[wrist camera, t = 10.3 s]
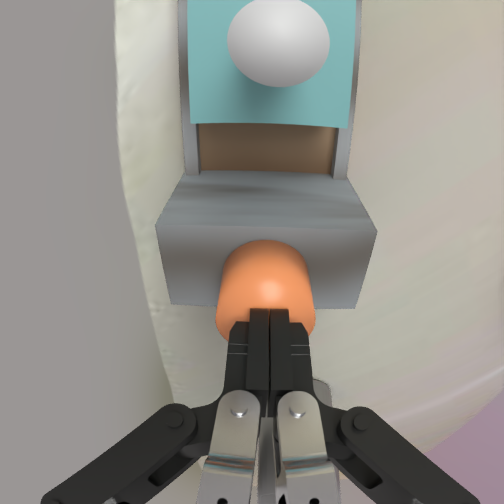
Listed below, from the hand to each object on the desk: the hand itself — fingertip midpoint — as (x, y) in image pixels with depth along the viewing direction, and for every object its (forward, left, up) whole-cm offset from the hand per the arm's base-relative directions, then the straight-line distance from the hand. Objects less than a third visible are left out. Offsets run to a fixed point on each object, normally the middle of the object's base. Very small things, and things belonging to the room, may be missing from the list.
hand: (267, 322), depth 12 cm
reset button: (0, 0, -3) cm, 3 cm away
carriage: (+10, 0, -9) cm, 14 cm away
